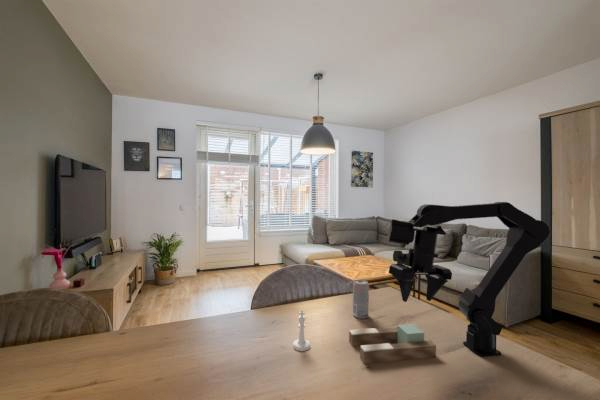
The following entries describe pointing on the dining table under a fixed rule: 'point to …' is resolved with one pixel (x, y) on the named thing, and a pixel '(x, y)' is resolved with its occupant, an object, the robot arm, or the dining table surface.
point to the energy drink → (360, 299)
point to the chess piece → (301, 335)
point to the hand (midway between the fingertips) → (416, 300)
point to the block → (409, 334)
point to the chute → (388, 346)
